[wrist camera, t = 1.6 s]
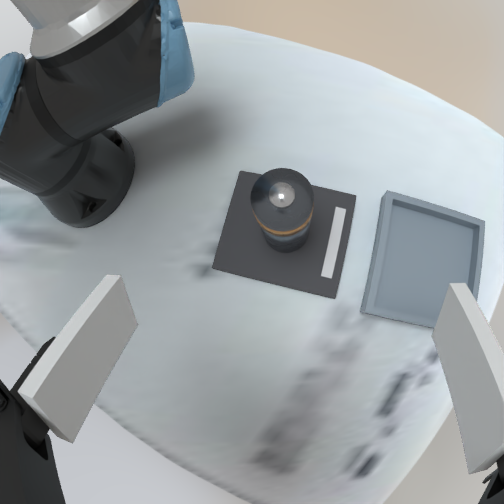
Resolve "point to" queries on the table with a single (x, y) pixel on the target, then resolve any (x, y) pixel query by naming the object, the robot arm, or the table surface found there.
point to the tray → (420, 259)
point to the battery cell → (283, 208)
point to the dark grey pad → (294, 263)
